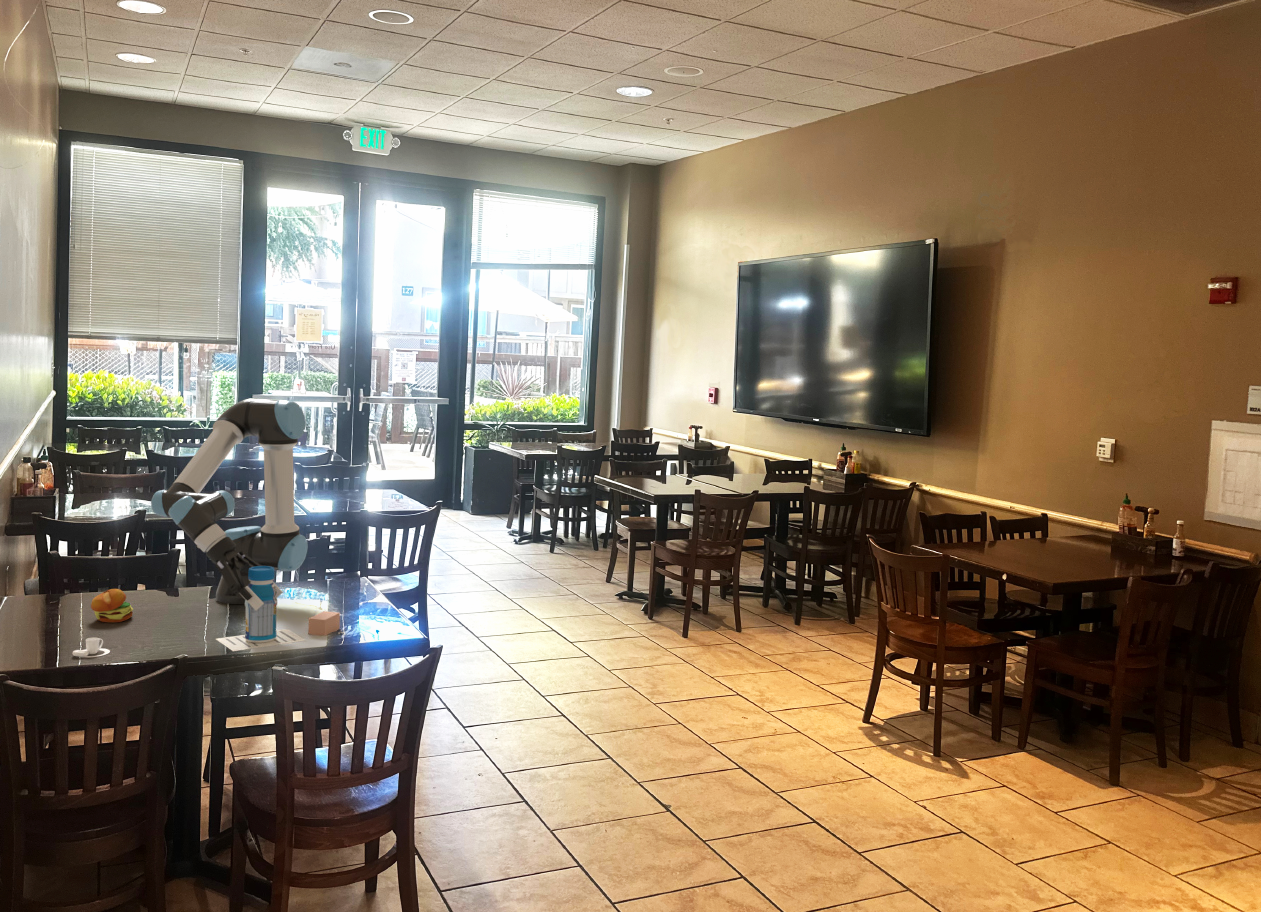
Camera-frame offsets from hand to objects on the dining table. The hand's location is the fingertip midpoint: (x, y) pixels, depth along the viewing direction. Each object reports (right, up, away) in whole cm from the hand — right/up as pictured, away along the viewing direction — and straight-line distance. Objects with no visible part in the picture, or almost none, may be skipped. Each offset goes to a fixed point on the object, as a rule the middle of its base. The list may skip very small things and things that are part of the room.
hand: (269, 601), depth 279 cm
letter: (-3, -11, +1) cm, 11 cm away
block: (+10, -9, +8) cm, 16 cm away
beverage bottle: (-3, -11, +1) cm, 11 cm away
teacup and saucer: (-43, -11, -17) cm, 48 cm away
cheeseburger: (-51, -8, +16) cm, 54 cm away
